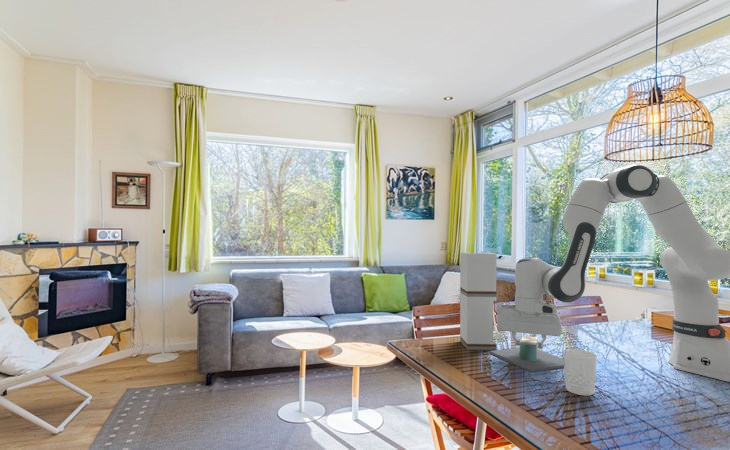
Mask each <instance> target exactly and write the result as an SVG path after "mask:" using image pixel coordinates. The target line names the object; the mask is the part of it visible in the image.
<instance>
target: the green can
mask: <svg viewBox="0 0 730 450" xmlns="http://www.w3.org/2000/svg"><path fill="white" fill-rule="evenodd" d="M538 342H539V337H537V336H530V335H522V337H521V339H520V346H519V348H520V359H524V360H531V361H537V354H538V350H539V348H538Z"/></svg>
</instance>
